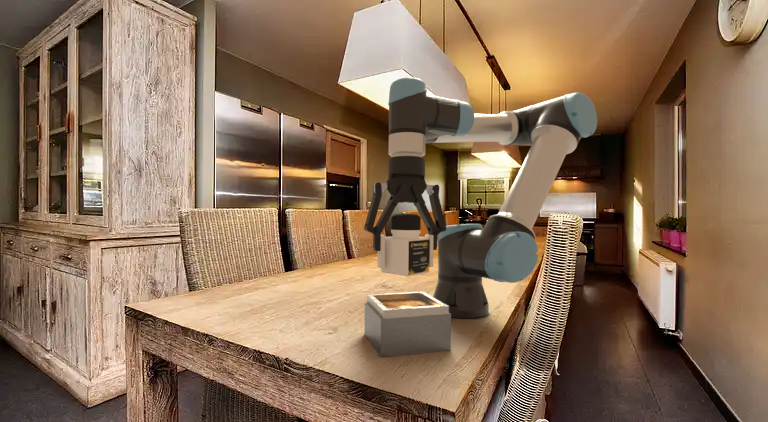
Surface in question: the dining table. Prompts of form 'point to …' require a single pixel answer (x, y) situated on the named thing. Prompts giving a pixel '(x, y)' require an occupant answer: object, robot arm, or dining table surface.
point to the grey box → (407, 323)
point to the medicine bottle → (406, 247)
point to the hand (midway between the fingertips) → (405, 266)
